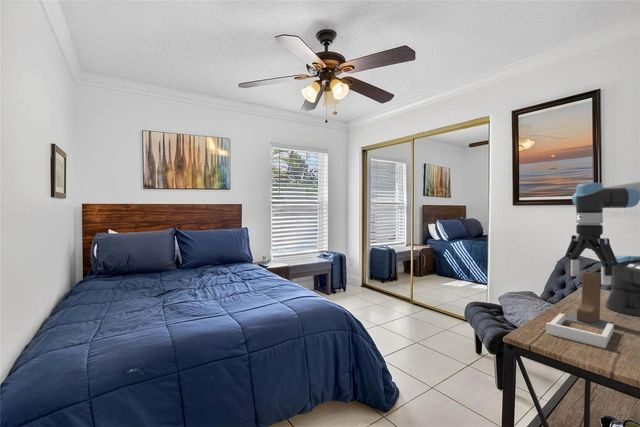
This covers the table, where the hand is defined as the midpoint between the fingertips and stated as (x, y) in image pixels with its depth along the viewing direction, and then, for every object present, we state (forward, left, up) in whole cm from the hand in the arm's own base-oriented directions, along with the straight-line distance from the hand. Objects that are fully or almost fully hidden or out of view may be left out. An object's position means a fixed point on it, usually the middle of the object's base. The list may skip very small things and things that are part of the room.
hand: (589, 280), depth 116 cm
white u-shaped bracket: (+12, +11, -16) cm, 22 cm away
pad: (0, 0, -16) cm, 16 cm away
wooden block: (0, 0, -16) cm, 16 cm away
